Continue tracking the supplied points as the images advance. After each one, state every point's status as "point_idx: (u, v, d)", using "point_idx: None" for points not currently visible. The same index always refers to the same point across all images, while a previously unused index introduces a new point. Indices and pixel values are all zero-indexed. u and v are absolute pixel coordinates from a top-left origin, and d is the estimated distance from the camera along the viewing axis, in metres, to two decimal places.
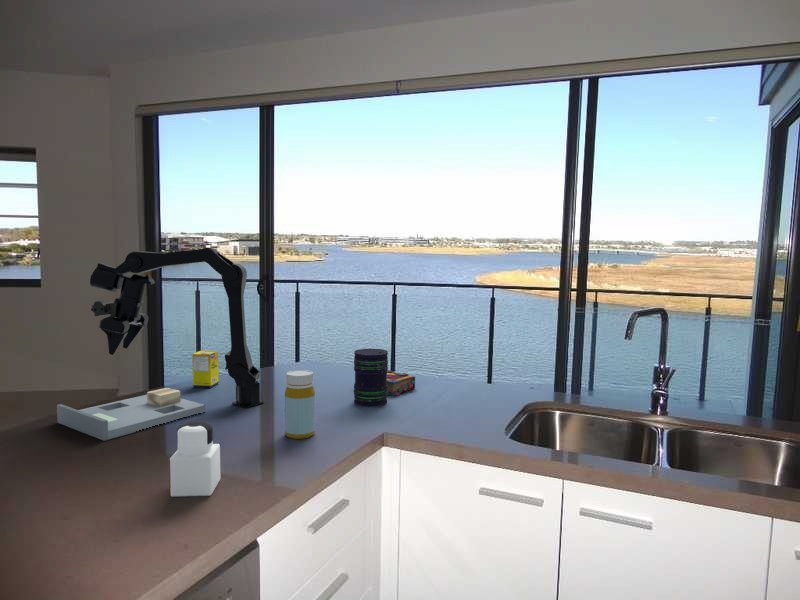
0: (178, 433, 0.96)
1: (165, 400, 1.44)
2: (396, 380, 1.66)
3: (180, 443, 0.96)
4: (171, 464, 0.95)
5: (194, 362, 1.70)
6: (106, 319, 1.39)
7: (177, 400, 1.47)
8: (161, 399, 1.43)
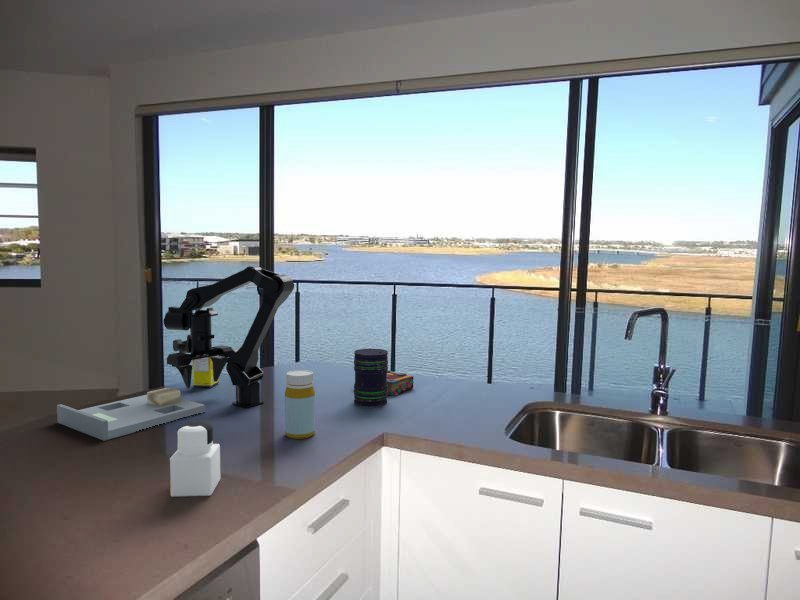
0: (178, 433, 0.96)
1: (165, 400, 1.44)
2: (395, 380, 1.66)
3: (180, 443, 0.96)
4: (171, 464, 0.95)
5: (194, 362, 1.70)
6: (169, 355, 1.49)
7: (177, 400, 1.47)
8: (161, 399, 1.43)
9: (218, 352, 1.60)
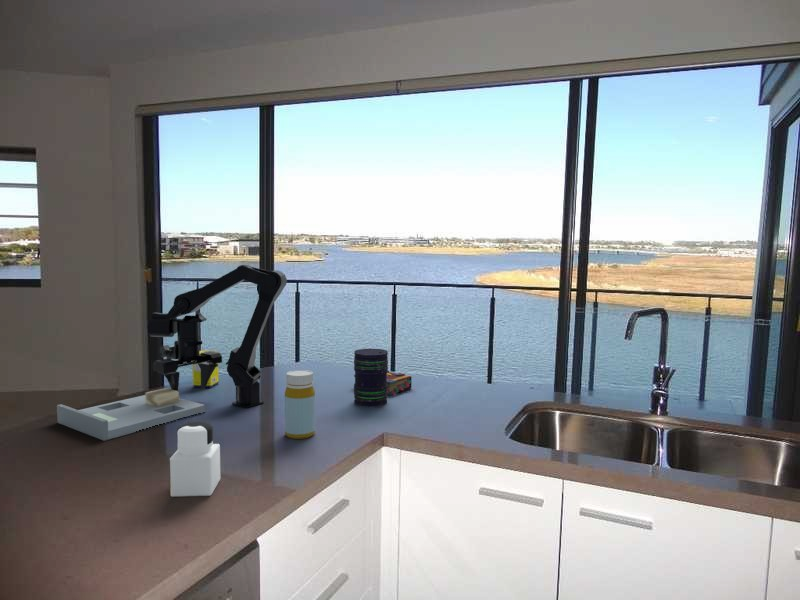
0: (178, 433, 0.96)
1: (163, 400, 1.43)
2: (393, 380, 1.66)
3: (180, 443, 0.96)
4: (171, 464, 0.95)
5: None
6: (155, 362, 1.46)
7: (175, 400, 1.47)
8: (159, 399, 1.43)
9: (206, 358, 1.57)
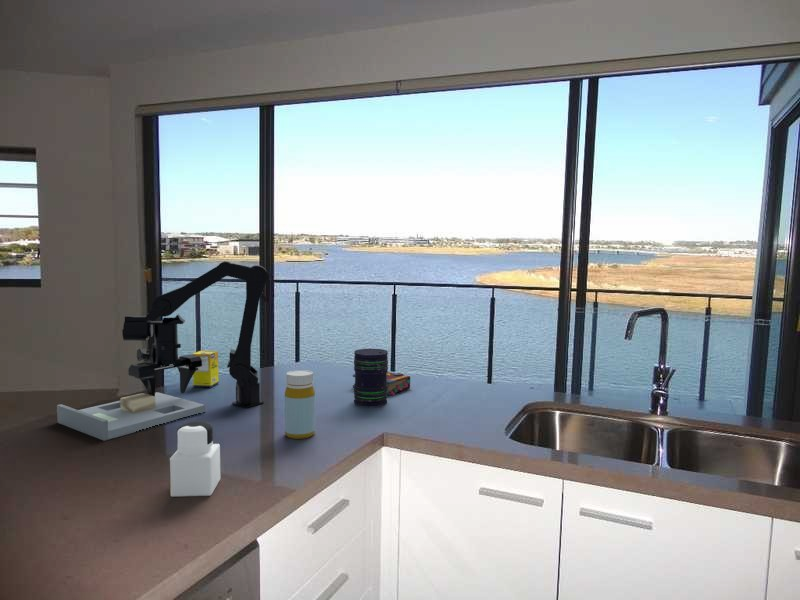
0: (178, 433, 0.96)
1: (138, 406, 1.38)
2: (391, 380, 1.66)
3: (180, 443, 0.96)
4: (171, 464, 0.95)
5: None
6: (131, 366, 1.41)
7: (152, 406, 1.41)
8: (134, 405, 1.37)
9: (185, 362, 1.51)
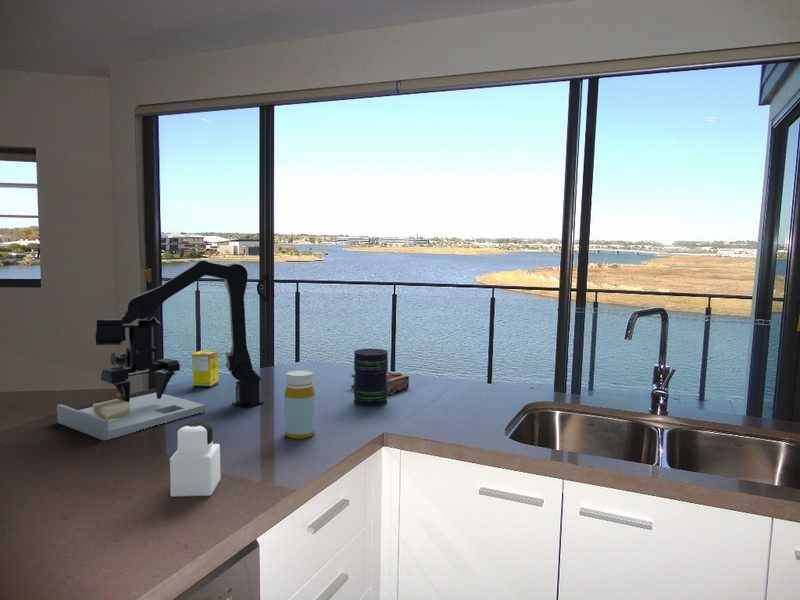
0: (178, 433, 0.96)
1: (111, 413, 1.32)
2: (390, 380, 1.67)
3: (180, 443, 0.96)
4: (171, 464, 0.95)
5: (194, 362, 1.70)
6: (104, 370, 1.35)
7: (126, 413, 1.35)
8: (107, 412, 1.31)
9: (162, 366, 1.45)
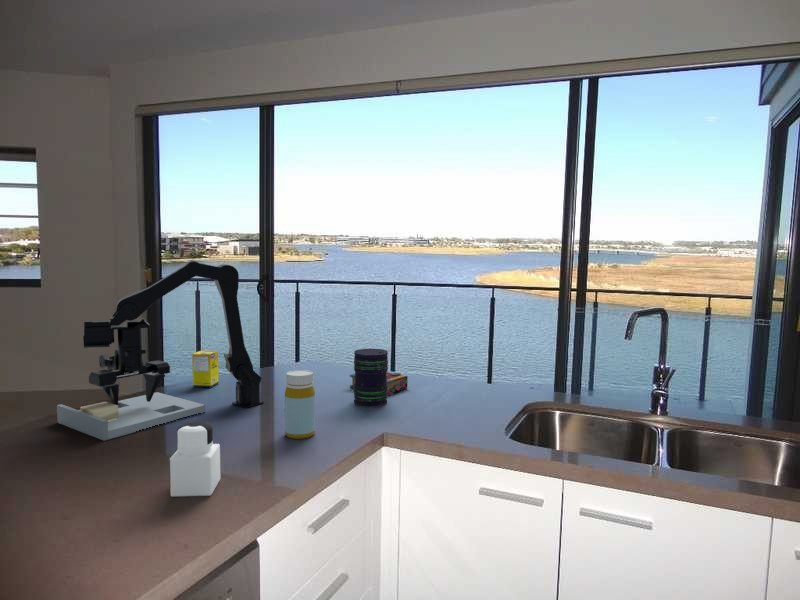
0: (178, 433, 0.96)
1: (99, 416, 1.30)
2: (389, 380, 1.67)
3: (180, 443, 0.96)
4: (171, 464, 0.95)
5: (194, 362, 1.70)
6: (91, 373, 1.32)
7: (114, 416, 1.33)
8: (94, 415, 1.29)
9: (151, 368, 1.43)
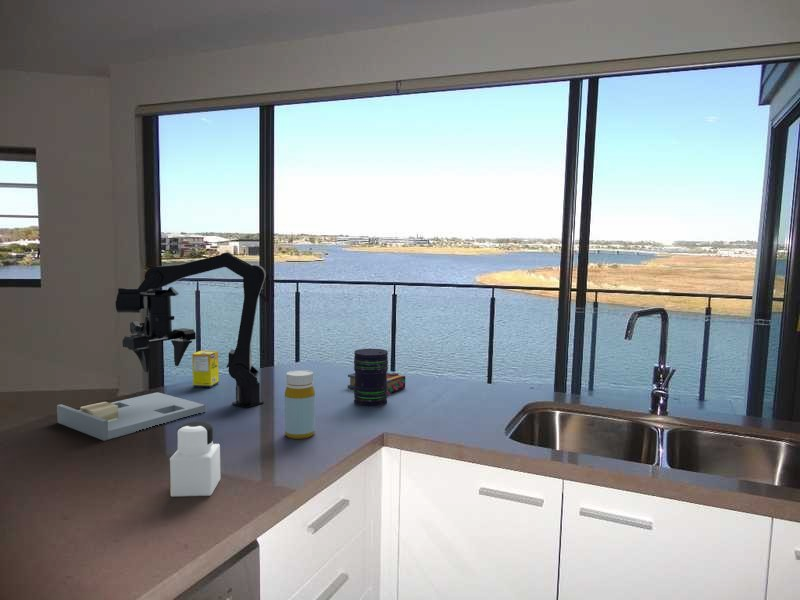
0: (178, 433, 0.96)
1: (99, 416, 1.30)
2: (387, 380, 1.67)
3: (180, 443, 0.96)
4: (171, 464, 0.95)
5: (194, 362, 1.70)
6: (125, 337, 1.41)
7: (114, 416, 1.33)
8: (94, 415, 1.29)
9: (179, 335, 1.52)
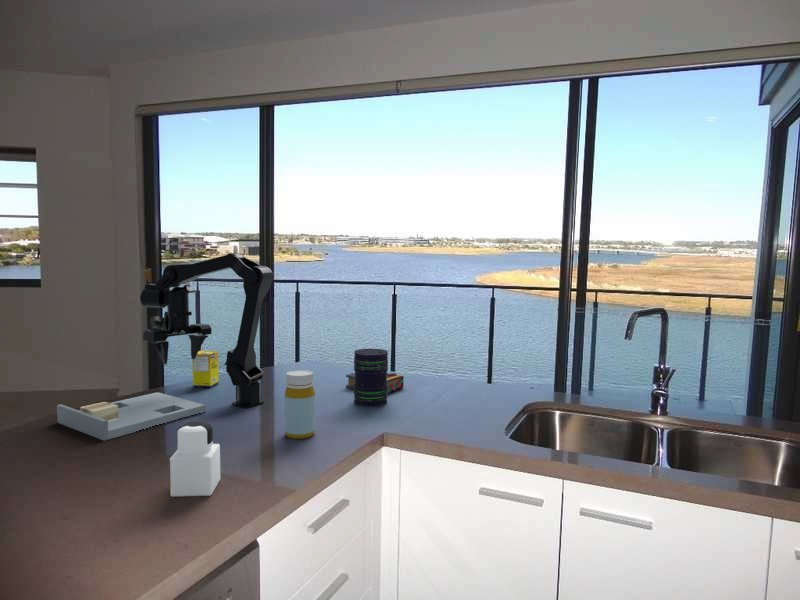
0: (178, 433, 0.96)
1: (99, 416, 1.30)
2: None
3: (180, 443, 0.96)
4: (171, 464, 0.95)
5: (194, 362, 1.70)
6: (146, 331, 1.50)
7: (114, 416, 1.33)
8: (94, 415, 1.29)
9: (196, 330, 1.60)
